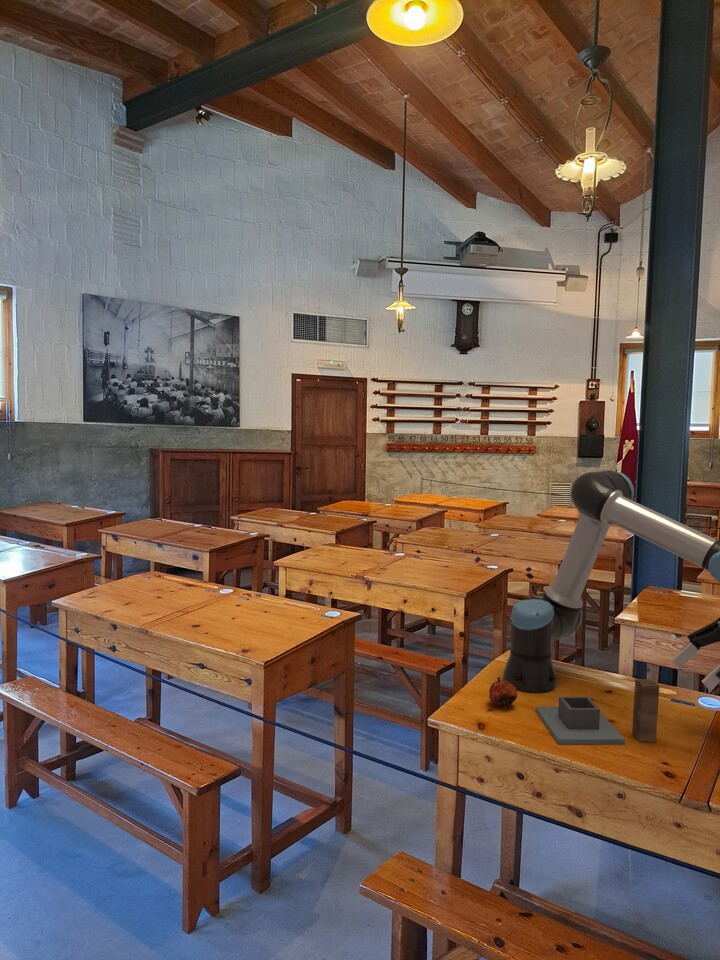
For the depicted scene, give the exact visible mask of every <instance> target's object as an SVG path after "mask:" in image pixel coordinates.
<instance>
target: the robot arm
mask: <svg viewBox="0 0 720 960" xmlns="http://www.w3.org/2000/svg"><path fill="white" fill-rule="evenodd" d="M634 497H635V488H634V485H633V482H632V480H630V478H629V477H628V476H627V475H626V474H624V473H623V472H620V471H617V470H611V469H607V470H603V471H602V470H601V471H592V472H585V473H583V474H581V475H580V476H578V477H577V478H576V479H575V480H574V482H573V484H572V486H571V490H570V499H571V501H572V503H573V505H574V507H575V508H576V510H577V512H578V514H579V517H578V520H577V523H576V525H575V528H574V529H573V530H574V531H573V533H572V536H571V538H570V541H569V542H568V546H567V548H566V550H565V553H564V555H563V558H562V560H561V563H560V566H559V567H558V570H557V574H556V576H555V577H554V578H555V579H554V580H553V584H552V585H550V586H547V587H546V588H545V589H544V591H543V593H542V596H541V599H537V598H536V599H534V598H532V599H523V600H520V601H518V602H516V603H515V604H514V605H513V607H512V609H511V616H510V621H511V623H510V647H509V648H510V653H509V656H508V658H507V661H506V664H505V667H504V670H503V674H502V680H506V681H508V682H510V683H511V684H513V685H514V687H515V688H516V690H517V691H522V692H526V693H548V692H551V691H554V690H555V689H556V688H557V675H556V671H555V667H554V663H553V659H552V651H553V650H552V649H553V642H555V641H557V640H560V639H562V638H564V637H565V638H566V637H568V636H570V635H571V634H573V633H574V632H575V631H577V630H578V628H579V627H580V625H581V624H582V621H583V611H582V608H583V605H584V601H583V600H582V598H581V596H582V594H583V591H584V589H585V586H586V584H587V581H588V579H589V577H590V574H591V572H592V570H593V567H594V564H595V563H596V561H597V558H598V555H599V553H600V550H601V548H602V545H603V544H604V541H605V538H606V537H607V534H608V531H609V529H610V527H612V526H614V525H615V526H617V527H619V528H621V529H623V530H625V531H627V532H629V533H631V534H633V535H635V536H637V537H639V538H640V539H643V540H645V541H647V542H650V543H651V544H654V545H655V546H657V547H659V548H662V550H663V549H664V550H666V552H669V553H671V554H674V555H675V556H677V557H680V558H681V559H684V560H686V561H687V562H690V563H692V564H693V565H696V566H697V567H700V568H702V569H704V570H706V571H708V572H709V574H710V575H711V576H712V577H713V579H714V580H716V581H717V582H720V540H718V539H716V538H714V537H712V536H710V535H708V534H705V533H704V532H701V531H699V530H697V529H694V528H693V527H690V526H688V525H686V524H684V523H681V521H680V522H679V521H677V520H675V519H673V518H670V517H669V516H666V515H664V514H662V513H660V512H658V511H655V509H651V508H649V507H647V506H644V504H640V503H638V502H636V501H634ZM687 639H688V640H689V641H688V643H687V644H686V645H685V646H684V647H683V648H682V649H681V651H680V652H678V653H677V654H676V656H674V657H673V658H672V659H671V662H672V663H673V664H674V665H675V666H677V668H678V669H681V668H683V666H684V665H686V664H687V663H688V662H689V661H690V660H691V659H692V658H693V657H694V656H696V654H697V653H698V652H699V651H700V648H703V647H706V646H710V645H712V644H715V643H718V642H720V616H719V617H718V618H717V619H716V620H713V622H710V623H709V624H706V625H705V626H703V627H701V628H699V629H698V630H696V631H694V632H692V633H689V634H688V635H687ZM700 682H701V683H702V684H703V685H704V686H705V688H707V690H709V691H712V690H713V689H714V688H715V687H716V686H717V685H718V684H719V683H720V663H719V664H718V665H717V666H716V667H715V668H714V669H712V671H710V673H709V674H708V675H707V676H705V677H704V678H703V679H702V680H701V681H700Z"/></svg>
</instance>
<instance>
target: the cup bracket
mask: <svg viewBox="0 0 720 960" xmlns="http://www.w3.org/2000/svg"><path fill="white" fill-rule="evenodd" d="M535 712H536V714H537V716H538V717H539V719H541V720H540V721H542V723H543V724H544V725H545V727H546V728H547V730H548V731H549V733H550V734H551V735H552V737H553V739H554V740H555V741H556V743H557V745H626V739H625V738H624V736H623V735H622V734H621V733H620V732H619V731H618V730H617V729H616V728H615V726H614V725H613V724H612V723H611V722H610V721H609V720H608V719H607V718H606V717H605V716H604V714H603V713H602V712H601V709H600V708H599V706H597V704H596V703H595V702H594V701H593V700H592V699H591V698H590V697H589V696H558V706H535Z"/></svg>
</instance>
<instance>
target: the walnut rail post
mask: <svg viewBox="0 0 720 960" xmlns="http://www.w3.org/2000/svg"><path fill="white" fill-rule="evenodd" d="M633 696H634V697H633V698H634V699H633V700H634V701H633V709H632V710H633V713H632V730H631V736H633V737H634V738H635V739H636V741H638V742H639V743H656V742H657V730H658V716H659V715H658V713H659V712H658V711H659V700H660V699H659V697H660V685H659V684H658V683H657V682H656V681H654V680H653V679H652V678H647V679H646V678H636V679H635V682H634V695H633Z"/></svg>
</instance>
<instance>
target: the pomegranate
mask: <svg viewBox="0 0 720 960" xmlns="http://www.w3.org/2000/svg"><path fill="white" fill-rule="evenodd" d="M496 680H497V681H495V682H493V683H492V684H491V685H490V687H489V691H488V692H489V693H488V695H489V696H488V697H489V701H490V702H491V703H492V704H493V705H494V706H496V707H497V706H504V711H505V712H507V706H508V705H512V704H514V702H515V701H516V700H517V698H518V690H517V689H516V688H515V687H514V685H513V684H511V683H510V682H508V681H506V680H503V679H501V678H500V677H496Z"/></svg>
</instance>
